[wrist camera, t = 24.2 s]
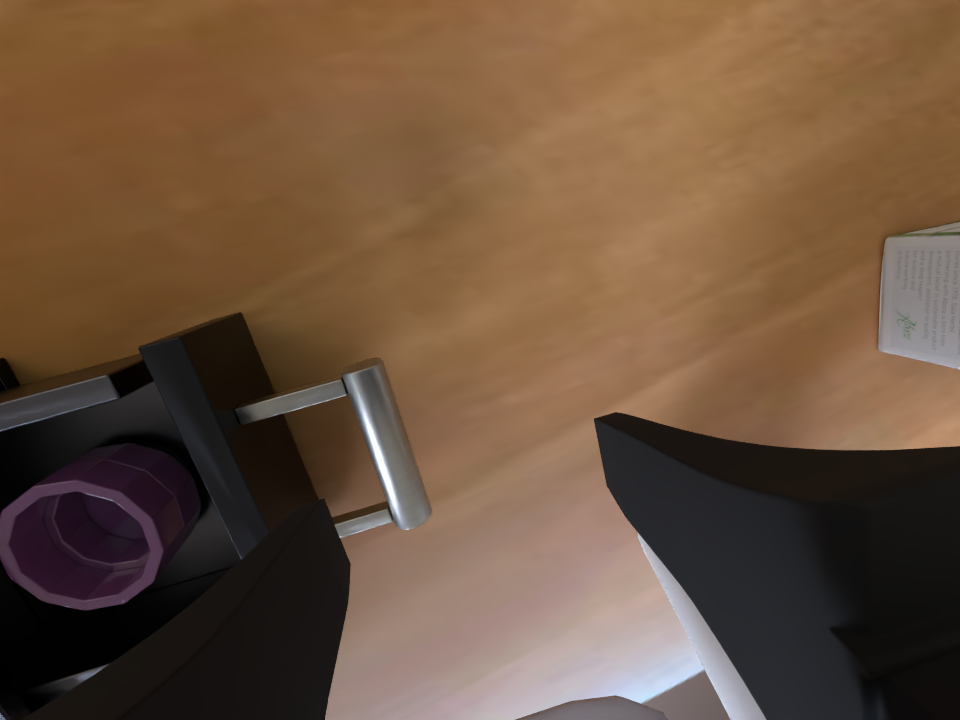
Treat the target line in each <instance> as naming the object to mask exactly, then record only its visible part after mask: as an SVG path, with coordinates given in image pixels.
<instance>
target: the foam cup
mask: <svg viewBox="0 0 960 720" xmlns="http://www.w3.org/2000/svg"><path fill="white" fill-rule="evenodd" d="M638 540H639V542H640V543H641V545H642V549H643V551H644V553H645V555H646V557H647V559H648V561H649V563H650V564H651V566H652V568H653V570H654V572H655V574H656V576H657V578H658V580H659V582H660V584H661V586H662V588H663V590H664V592H665V593H666V595H667V597H668V599H669V601H670V603H671V605H672V607H673V609H674V611H675V613H676V615H677V617H678V619H679V621H680V622H681V624H682V626H683V628H684V630H685V632H686V634H687V636H688V638H689V640H690V642H691V644H692V646H693V648H694V650H695V651H696V653H697V655H698V657H699V659H700V661H701V663H702V665H703V667H704V669H705V671H706V673H707V675H708V677H709V679H710V680H711V682H712V684H713V686H714V688H715V690H716V692H717V694H718V696H719V698H720V700H721V702H722V704H723V706H724V708H725V709H726V711H727V713H728V715H729V717H730V719H731V720H766V718H765V716H764V715H763V713H762V711H761V710H760V708H759V706H758V705H757V703H756V701H755V700H754V698H753V696H752V695H751V693H750V691H749V690H748V688H747V686H746V685H745V683H744V682H743V680H742V678H741V677H740V675H739V674H738V672H737V670H736V669H735V667H734V666H733V664H732V662H731V661H730V659H729V658H728V656H727V654H726V653H725V651H724V650H723V648H722V647H721V645H720V643H719V642H718V640H717V639H716V637H715V636H714V634H713V632H712V631H711V629H710V628H709V626H708V625H707V623H706V622H705V620H704V619H703V617H702V616H701V614H700V613H699V611H698V610H697V608H696V606H695V605H694V603H693V602H692V600H691V599H690V598H689V596H688V595H687V594H686V592H685V591H684V590H683V588H682V587H681V586H680V584H679V583H678V582H677V580H676V579H675V578H674V577H673V575H672V574H671V573H670V572H669V571H668V569H667V568H666V567H665V566H664V564H663V563H662V562H661V561H660V559H659V558H658V557H657V556H656V554H655V553H654V552H653V551H652V549H651V548H650V547H649V546H648V544H647V543H646V542H645V541H644V540H643V538H642V537H641V536H640V534H639V533H638Z"/></svg>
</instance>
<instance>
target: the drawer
mask: <svg viewBox="0 0 960 720" xmlns="http://www.w3.org/2000/svg"><path fill="white" fill-rule="evenodd" d="M138 349H139V351H140V354H137V355H133V356H129V357H125V358H122V359H118V360H114V361H110V362H107V363H103V364H99V365H96V366H92V367H88V368H84V369H81V370H77V371H73V372H70V373H66V374H62V375H58V376H55V377H51V378H47V379H44V380H40V381H36V382H32V383H29V384H25V385H21V386H17V387H14V388H10V389H6V390H3V391H0V516H1V512H2V511H3V509H4V508H5V507H7V506H8V505H9V504H10V503H12V502H13V501H14V500H16V499H17V498H18V497H19V496H21V495H22V494H23V493H25V492H26V491H27V490H28V489H30V488H31V487H32V486H34V485H36V484H37V483H39V482H40V481H42V480H44V479H45V478H47V477H48V476H50V475H51V474H53V473H55V472H56V471H58V470H59V469H61V468H63V467H65V466H66V465H67V464H69V463H71V462H72V461H74V460H75V459H77V458H79V457H80V456H82V455H83V454H85V453H87V452H88V451H90V450H91V449H94V448H98V447H105V446H112V445H118V444H125V443H134V444H137V445H141V446H145V447H150V448H154V449H157V450H160V451H163V452H165V453H167V454H169V455H171V456H172V457H174V458H175V459H177V460H178V461H179V462H180V463H182V464H183V465H184V466H185V467H186V469H187V470H188V471H189V473H190V474H191V475H192V477H193V479H194V482H195V484H196V488H197V492H198V495H199V498H200V501H201V509H200V512H199V515H198V518H197V521H196V524H195V527H194V530H193V532H192V533H191V535H190V536H189V537H188V538H187V540H186V541H185V542H184V544H183V545H182V546H181V547H180V549H179V550H178V551H177V552H176V554H175V555H174V556H173V558H172V559H171V560H170V562H169V563H168V564H167V565H166V567H165V568H164V569H163V571H162V572H161V573H160V574H159V576H158V577H157V578H156V580H155V581H154V582H153V583H152V584H150V585H149V586H148V587H147V588H145V589H144V590H143V591H141V592H140V593H139V594H137V595H136V596H135V597H133V598H132V599H131V600H129V601H128V602H127V603H124V604H120V605H115V606H109V607H104V608H98V609H93V610H87V611H86V610H84V611H83V610H78V609H74V608H69V607H64V606H60V605H55V604H50V603H46V602H43V601H41V600H39V599H38V598H37V597H35V596H34V595H32V594H31V593H30V592H28V591H27V590H25V589H24V588H22V587H21V586H20V585H18V584H17V583H15V582H14V581H13V580H11V579H10V577H8V575H7V573H6V571H5V568H4V566H3V564H2V562H1V560H0V670H1V672H2V673H3V674H4V676H5V677H6V678H7V680H8V681H9V683H10V684H11V685H12V687H13V688H14V689H15V691H16V692H17V693H18V695H19V696H20V698H21V699H22V700H23V702H24V703H25V704H26V706H27V707H28V708H29V709H33V708H36V707H39V706H42V705H45V704H48V703H50V702H51V701H53V700H55V699H56V698H58V697H60V696H61V695H63V694H64V693H66V692H68V691H69V690H71V689H72V688H74V687H75V686H77V685H79V684H80V683H82V682H83V681H85V680H86V679H88V678H90V677H91V676H93V675H94V674H96V673H97V672H99V671H100V670H102V669H103V668H105V667H106V666H108V665H109V664H110V663H112V662H113V661H115V660H116V659H118V658H119V657H120V656H122V655H123V654H125V653H126V652H128V651H129V650H131V649H132V648H133V647H135V646H136V645H138V644H139V643H141V642H142V641H143V640H145V639H146V638H148V637H149V636H151V635H152V634H153V633H155V632H156V631H157V630H159V629H160V628H161V627H163V626H164V625H165V624H167V623H168V622H169V621H170V620H172V619H173V618H174V617H175V616H177V615H178V614H179V613H181V612H182V611H183V610H184V609H186V608H187V607H188V606H189V605H191V604H192V603H193V602H194V601H195V600H197V599H198V598H199V597H200V596H201V595H203V594H204V593H205V592H206V591H207V590H208V589H210V588H211V587H212V586H213V585H214V584H215V583H216V582H217V581H218V580H220V579H221V578H222V577H223V576H224V575H225V574H226V573H227V572H228V571H230V570H231V569H232V568H233V567H234V566H235V565H236V564H237V563H238V562H240V561H241V560H242V559H243V558H244V557H245V556H246V555H247V554H248V553H249V552H250V551H251V550H252V549H253V548H254V547H255V546H256V545H257V544H258V543H259V542H261V541H262V540H263V539H264V538H265V537H266V536H267V535H268V534H269V533H270V532H271V531H272V530H273V529H274V528H275V527H276V526H277V525H278V524H279V523H280V522H281V521H283V520H284V519H285V518H286V517H287V516H288V515H289V514H290V513H291V512H293V511H294V510H295V509H297V508H298V507H299V506H301V505H304V504H308V503H311V502H314V501H318V498H317V495H316V493H315V490H314V488H313V486H312V483H311V481H310V478H309V476H308V473H307V471H306V468H305V466H304V464H303V461H302V459H301V456H300V454H299V451H298V449H297V446H296V444H295V442H294V439H293V437H292V434H291V432H290V429H289V427H288V424H287V422H286V420H285V417H284V415H283V414H284V413H287V412H291V411H294V410H298V409H301V408H305V407H308V406H312V405H315V404H319V403H323V402H326V401H330V400H333V399H337V398H340V397H344V396H346V395H347V394H349V397H350V400H351V403H352V406H353V408H354V411H355V414H356V417H357V419H358V422H359V425H360V428H361V431H362V433H363V436H364V439H365V442H366V444H367V447H368V450H369V453H370V456H371V458H372V461H373V464H374V467H375V470H376V472H377V475H378V478H379V481H380V483H381V486H382V489H383V492H384V495H385V497H386V500H387V501H386V502H382V503H379V504H376V505H372V506H369V507H366V508H362V509H359V510H356V511H352V512H349V513H346V514H342V515H339V516H335V517H332V520H333V522H334V525H335V527H336V530H337V532H338V534H339V537H340V538H342V537H345V536H349V535H352V534H355V533H359V532H362V531H365V530H369V529H372V528H375V527H378V526H382V525H385V524H388V523H391V522H392V521H393V520H394V522H395V525H396V526H397V527H398V528H400V529H412V528H415V527H418V526H420V525H422V524H423V523H425V522H426V521H427V520H428V519H429V518H430V516H431V513H432V508H431V505H430V502H429V499H428V496H427V493H426V490H425V487H424V484H423V481H422V478H421V475H420V472H419V469H418V466H417V463H416V460H415V456H414V453H413V450H412V447H411V444H410V441H409V438H408V435H407V432H406V429H405V426H404V423H403V420H402V417H401V414H400V411H399V408H398V405H397V402H396V399H395V396H394V393H393V389H392V386H391V383H390V380H389V377H388V374H387V371H386V368H385V365H384V362H383V359H382V358H371V359H366V360H362V361H359V362H356V363H354V364H351V365H349V366H347V367H346V368H344V369H343V370H342V371H341V375H340V376H336V377H333V378H329V379H325V380H322V381H318V382H315V383H311V384H308V385H304V386H300V387H297V388H293V389H290V390H286V391H283V392H279V393H274V390H273V388H272V385H271V383H270V380H269V378H268V376H267V373H266V371H265V368H264V366H263V363H262V361H261V358H260V356H259V354H258V351H257V349H256V346H255V344H254V341H253V339H252V336H251V334H250V332H249V329H248V327H247V324H246V322H245V319H244V317H243V314H242V313H241V312H239V313H235V314H231V315H228V316H224V317H220V318H216V319H213V320H210V321H207V322H204V323H202V324H199V325H196V326H193V327H191V328H188V329H185V330H183V331H180V332H177V333H174V334H172V335H169V336H166V337H164V338H161V339H158V340H155V341H153V342H150V343H147V344H145V345H142V346H140V347H139V348H138Z"/></svg>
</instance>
